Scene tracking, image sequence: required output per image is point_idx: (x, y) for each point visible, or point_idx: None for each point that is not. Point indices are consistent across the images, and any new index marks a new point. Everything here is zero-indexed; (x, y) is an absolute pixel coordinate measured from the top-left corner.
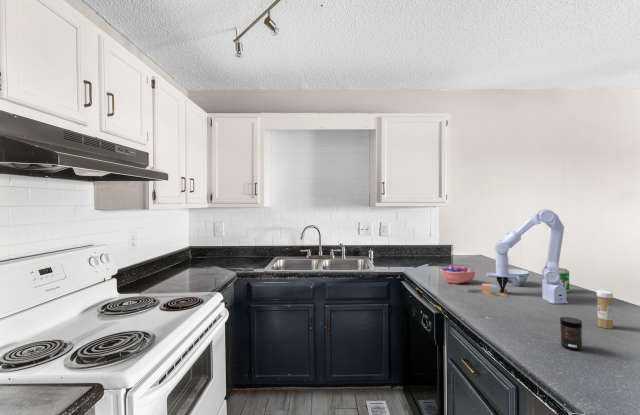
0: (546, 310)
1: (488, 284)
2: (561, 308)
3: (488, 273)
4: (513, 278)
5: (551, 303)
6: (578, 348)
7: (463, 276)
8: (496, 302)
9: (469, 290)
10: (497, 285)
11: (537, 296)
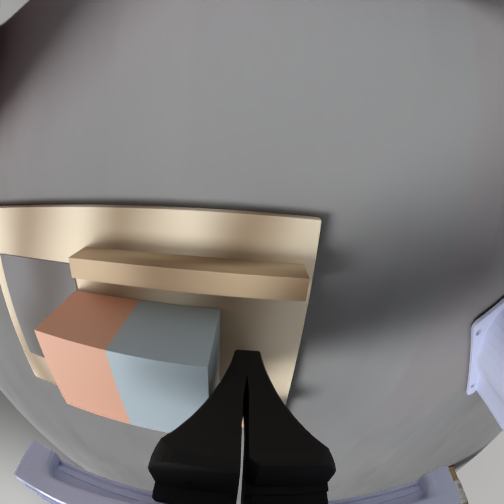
0: (390, 462)
1: (90, 366)
2: (457, 420)
3: (50, 498)
4: (382, 498)
5: (466, 391)
6: None
7: None
8: None
9: (17, 301)
10: (186, 394)
11: (490, 269)
